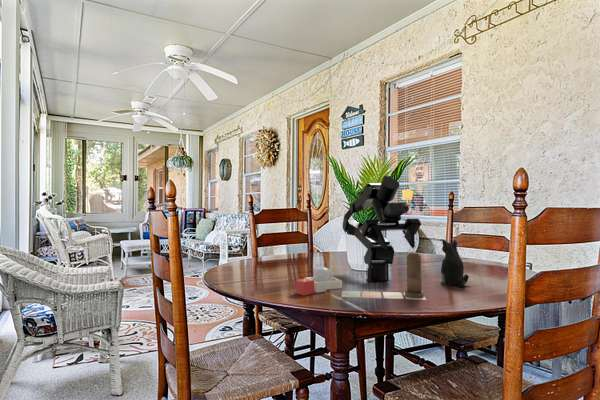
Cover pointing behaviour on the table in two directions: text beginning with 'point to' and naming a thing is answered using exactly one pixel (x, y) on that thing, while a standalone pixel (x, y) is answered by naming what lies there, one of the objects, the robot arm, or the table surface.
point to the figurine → (452, 266)
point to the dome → (323, 275)
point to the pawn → (414, 276)
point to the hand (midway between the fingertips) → (400, 247)
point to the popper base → (326, 285)
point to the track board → (375, 295)
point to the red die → (304, 286)
